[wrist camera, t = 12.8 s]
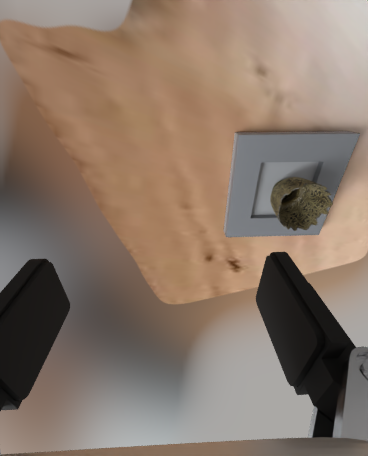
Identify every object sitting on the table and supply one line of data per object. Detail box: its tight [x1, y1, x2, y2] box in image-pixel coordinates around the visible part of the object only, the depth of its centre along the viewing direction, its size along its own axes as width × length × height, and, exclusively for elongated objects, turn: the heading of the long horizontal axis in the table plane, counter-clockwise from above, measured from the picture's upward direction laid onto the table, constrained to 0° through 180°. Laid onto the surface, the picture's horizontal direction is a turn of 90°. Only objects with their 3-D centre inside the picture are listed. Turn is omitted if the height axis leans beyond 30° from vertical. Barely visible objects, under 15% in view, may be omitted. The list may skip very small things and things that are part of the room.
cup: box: [270, 177, 333, 231], centre depth 33 cm, size 8×7×8 cm
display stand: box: [224, 131, 360, 237], centre depth 37 cm, size 18×18×2 cm
